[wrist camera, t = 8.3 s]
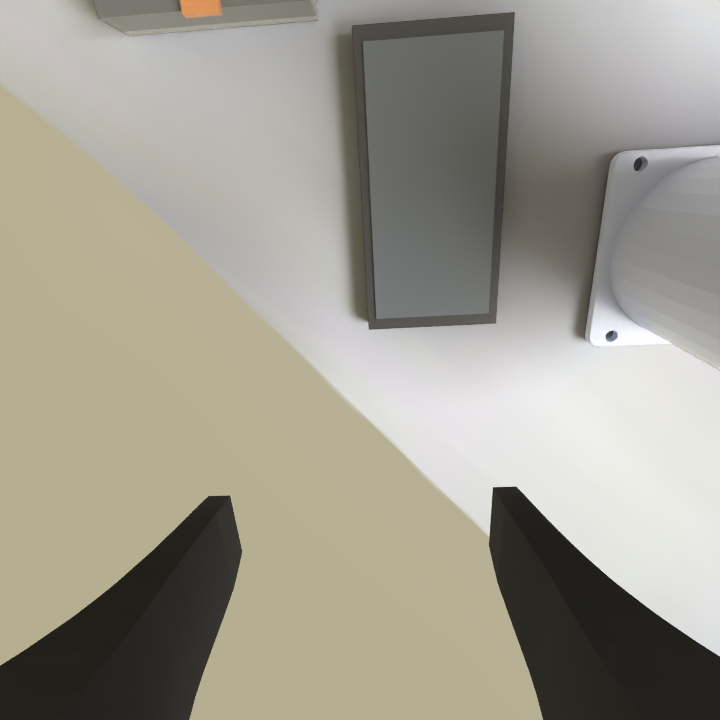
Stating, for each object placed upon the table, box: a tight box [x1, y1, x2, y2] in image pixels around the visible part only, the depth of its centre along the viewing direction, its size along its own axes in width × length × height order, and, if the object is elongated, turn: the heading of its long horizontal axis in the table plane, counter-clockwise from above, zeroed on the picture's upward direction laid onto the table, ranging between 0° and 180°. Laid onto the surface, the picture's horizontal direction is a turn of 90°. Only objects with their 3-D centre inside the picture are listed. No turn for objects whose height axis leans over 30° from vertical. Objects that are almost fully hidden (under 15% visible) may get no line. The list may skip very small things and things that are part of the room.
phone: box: [352, 12, 515, 329], centre depth 17 cm, size 6×11×1 cm, turn 3°
